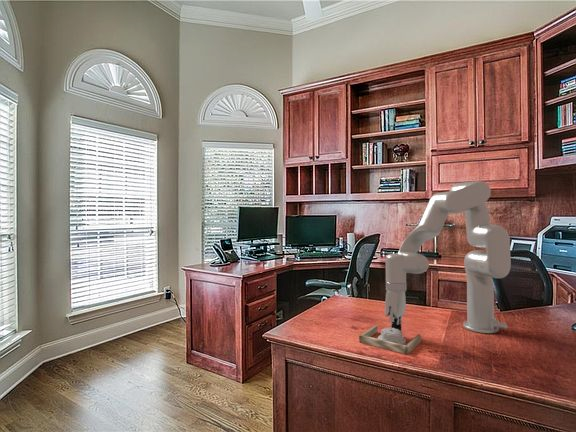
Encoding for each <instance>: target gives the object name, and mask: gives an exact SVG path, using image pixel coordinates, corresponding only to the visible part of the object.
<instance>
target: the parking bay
mask: <svg viewBox="0 0 576 432" xmlns="http://www.w3.org/2000/svg"><path fill="white" fill-rule="evenodd" d="M378 327H379V326H378V325H377V324H374V325H373V326H372V327H370V328H369V329H367V330H366V331H364V332H363V333H361V334H360V335H359V339H358V342H359V343H361V344H365V345H369V346H373V347H377V348H381V349H385V350H389V351H393V352H395V353H396V352H397V353H400V354H405V355H409V354H410V353H411V352H413V350H414V349H415V348H416V347H417V346H418V345H419V344H420V343H421V342H422V334H418V333H417V335H415V337H413V338H412V339H411V341H409V342H408V343H406V344H405V345H402V344H397V343H393V342H389V341H385V340H380V339H378V338H375V337H372V336H374V335H375V334H377V333H378V331H379V330H378Z"/></svg>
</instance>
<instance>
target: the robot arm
mask: <svg viewBox="0 0 576 432" xmlns="http://www.w3.org/2000/svg"><path fill="white" fill-rule="evenodd" d="M491 193H492V189H491V187H490V185H489V184H488V183H487V182H485V181H483V180H476V181H466V182H458V183H455V184H453V185H451V186H450V188H449V190H448V191H442V192H436V193H434V194H432V195H431V197H430V198H429V201H428V202H427V204H426V207H425V209H424V212H422V215H421V217H420V220H419V222H418V224H417V226H416V227H415V228H413V230H411V232H410V233H409V234H408V235H407V236H406V237H405V238H404V240H403V242H401V245H400V247H399V250H398V252H397V253H390V254H387V255H386V256H385V291H386V292H385V300H384V301H385V304H384V316H385V317H389V322H390V323H391V328H395V329H399V330H401V331H402V318H403V315H404V314H405V313H406V310H407V309H406V307H407V305H406V304H407V301H406V300H407V299H406V292H407V274H417V275H418V274H419V275H420V274H423V273H425V272H426V271H427V270H428V268H429V267H430V262H429V260H428V258H427V257H426V256H425V255H423V254H421V253H418V251H419V249H420V248H421V246H423V245H424V243H426V242H428V241H430V240H432V239H434V238H436V237H438V236H439V235H440V234H441V232H442V229H443V227H444V225H445V223H446V220H447V218H448V217H449V215H454V214H455V215H457V214H460V213H463V212H464V217H465V228H466V229H465V231H466V232H465V233H466V241H467V243H468V244H469V245H470V246H472V247H475V248H479V250H476V249H475V250H471V251H469V252H467V254H466V255H465V256H464V258H463V259H464V260H463V264H464V266H463V267H464V271H465V276H466V319H467V320H465V321H463V323H462V326H463V328H464V329H466V330H469V331H471V332H475V333H481V334H495V333H497V332H499V329H504V330H507V329H508V323H505V322H504V321H498V320H497V317H495V292H494V291H495V285H494V280H493V279H503V278H505V277H507V276H508V275H509V273H510V271H511V265H512V264H511V263H512V262H511V260H512V259H511V240H510V236H509V233H508V231H507V229H506V228H504V227H503V226H502V225H498V224H491V220H490V211H489V208H488V206H487V204H486V202H487V201H488V200H489V199H490V197H491ZM480 248H481V249H486V250H480Z"/></svg>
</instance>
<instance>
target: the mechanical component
mask: <svg viewBox="0 0 576 432" xmlns="http://www.w3.org/2000/svg"><path fill="white" fill-rule="evenodd" d="M377 339H380V340H385V341H389V342H393V343H397V344H402V345H407V339H406V338H405V337H404V336H403V331H402V329H401V330H399V329H395V328H392V327H384V328H382V329H381V330H380V335H378V337H377Z"/></svg>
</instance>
